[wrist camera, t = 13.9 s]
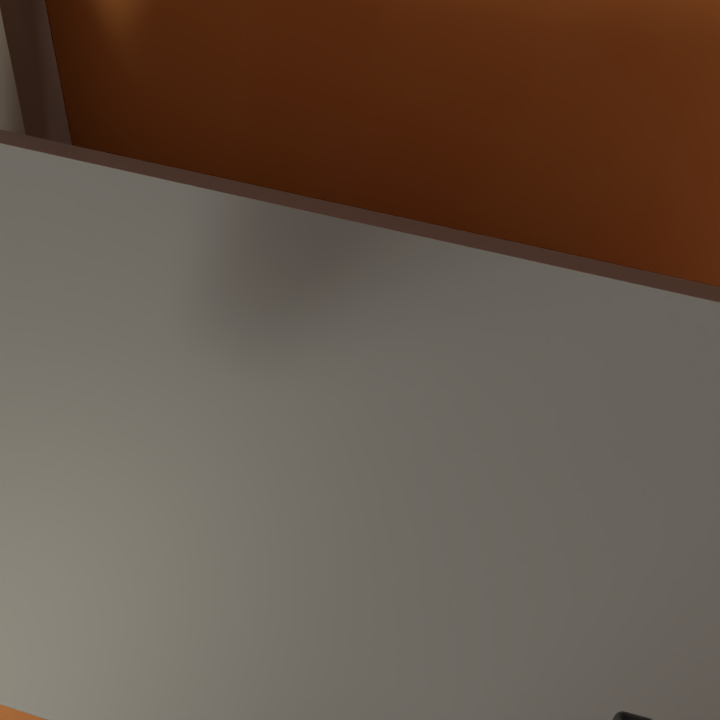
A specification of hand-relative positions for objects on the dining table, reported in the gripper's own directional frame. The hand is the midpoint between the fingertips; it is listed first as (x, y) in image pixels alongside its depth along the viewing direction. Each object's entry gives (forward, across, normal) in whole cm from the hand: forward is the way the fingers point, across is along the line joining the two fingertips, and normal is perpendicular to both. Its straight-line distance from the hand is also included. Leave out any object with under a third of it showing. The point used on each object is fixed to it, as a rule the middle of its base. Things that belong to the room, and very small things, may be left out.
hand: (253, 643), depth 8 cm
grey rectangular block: (+11, +2, +1) cm, 12 cm away
